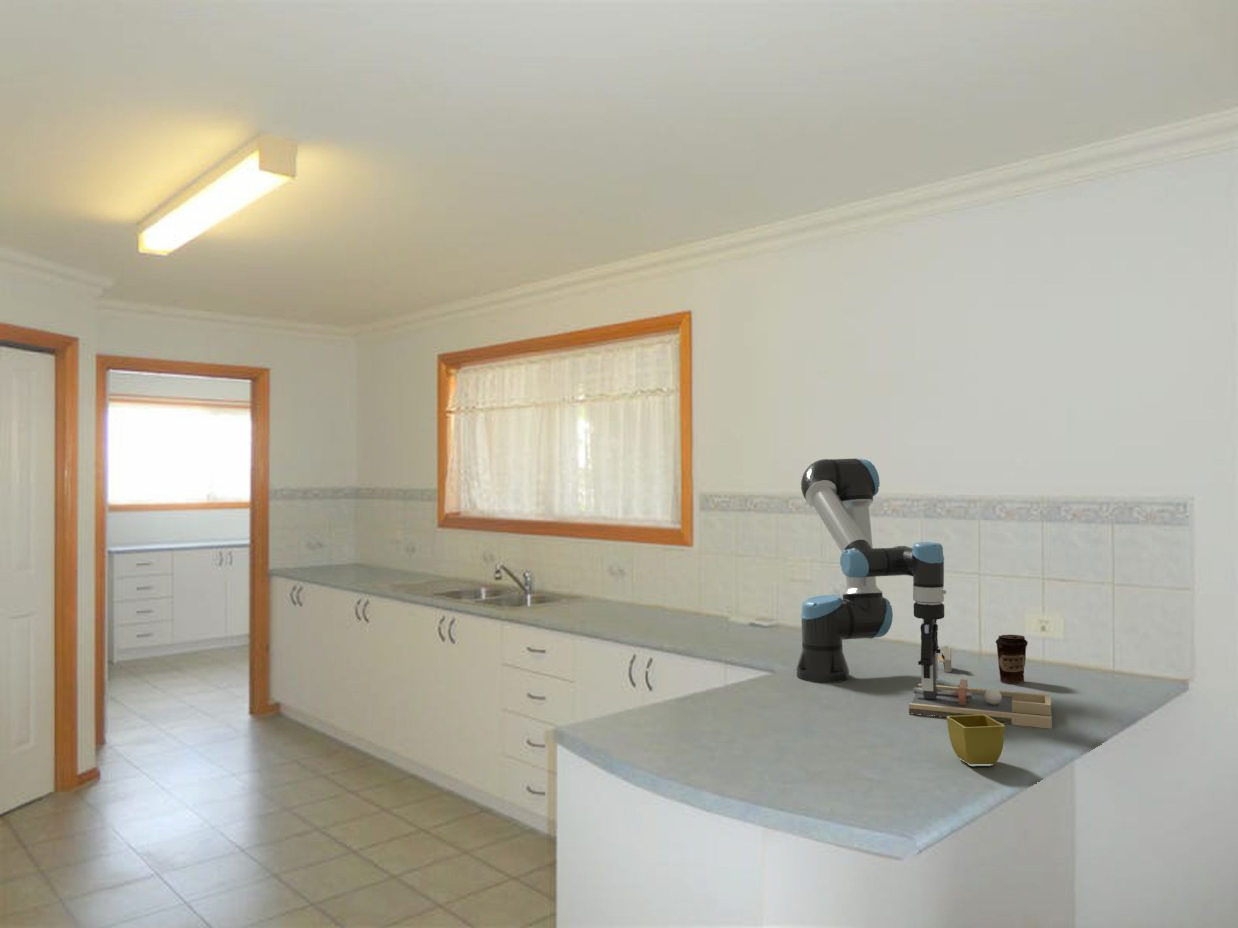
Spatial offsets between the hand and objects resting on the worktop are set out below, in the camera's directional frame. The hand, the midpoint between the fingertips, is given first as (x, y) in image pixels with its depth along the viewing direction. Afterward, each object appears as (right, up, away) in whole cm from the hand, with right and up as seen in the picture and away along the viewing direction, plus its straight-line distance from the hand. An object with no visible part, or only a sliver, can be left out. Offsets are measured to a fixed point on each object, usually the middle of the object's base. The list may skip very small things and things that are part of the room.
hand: (930, 684), depth 228 cm
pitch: (+11, -5, -5) cm, 13 cm away
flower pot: (-6, -6, -44) cm, 45 cm away
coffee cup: (+31, -5, +22) cm, 38 cm away
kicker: (+3, -3, -1) cm, 5 cm away
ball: (+14, -2, -6) cm, 15 cm away
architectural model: (+18, -6, +37) cm, 42 cm away
